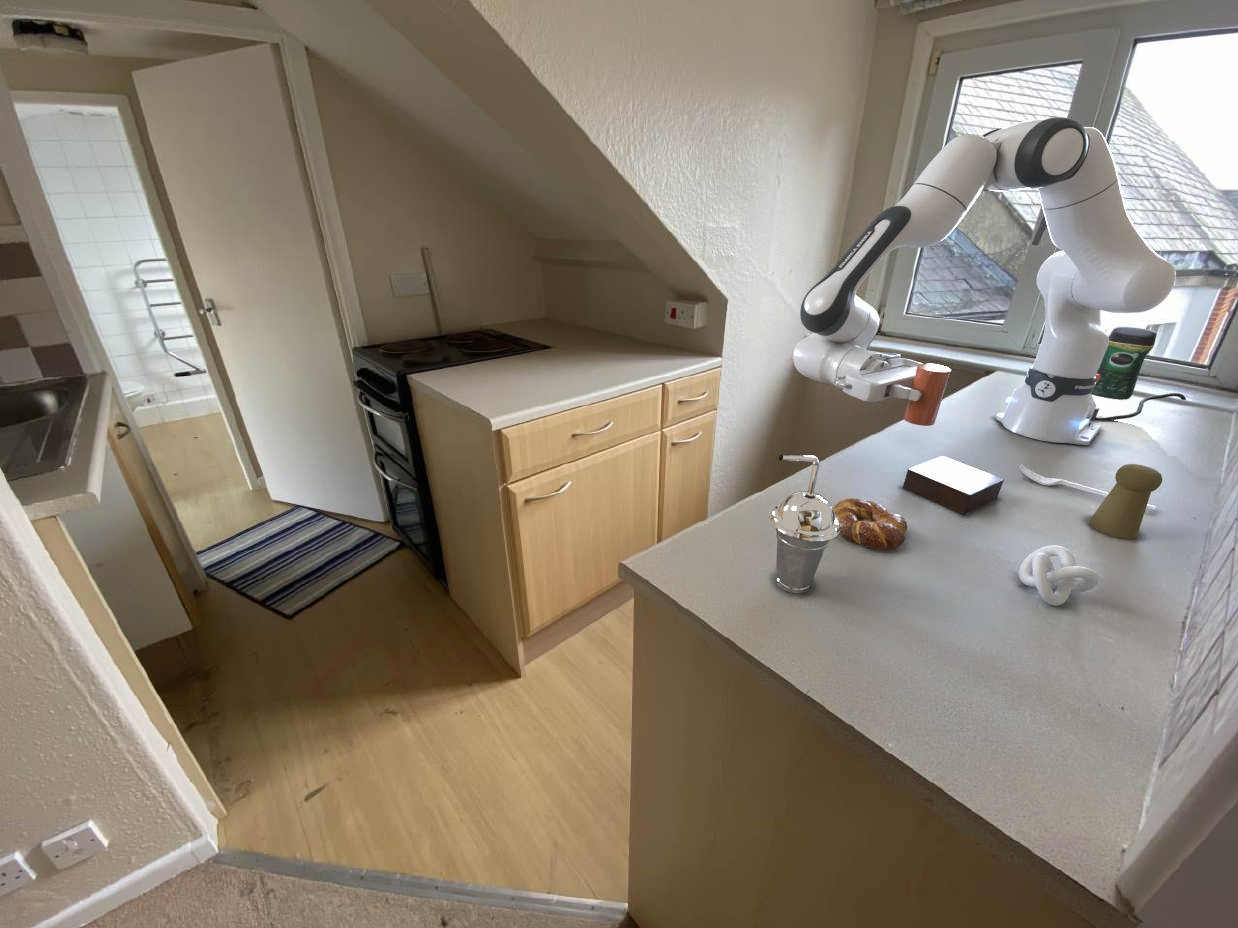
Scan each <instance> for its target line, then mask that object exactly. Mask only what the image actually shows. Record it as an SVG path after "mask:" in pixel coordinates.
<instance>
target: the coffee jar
mask: <svg viewBox="0 0 1238 928" xmlns="http://www.w3.org/2000/svg"><path fill="white" fill-rule="evenodd" d="M1108 337H1109V345H1108V347H1107V350H1106V352H1105V354H1104V357H1103V359H1102V361H1101V363H1100V366H1099V368H1098V370H1097V373H1096V374H1100V377H1099V380H1098V381H1097V382H1096V385H1095V387H1094V390H1093V392H1092V393H1091V395H1092V396H1095V397H1098V398H1099V397H1100V398H1103V399H1110V400H1111V399H1112V400H1120V401H1123V400H1124V401H1127V400H1129V399H1131V398H1132V396H1133V394H1134V391H1135V388H1136V385H1137V382H1138V378H1139V375H1140V372H1141V370H1142V366H1143V364H1144V361H1145V359H1146V357H1147V355H1148V354H1149V353H1150V352H1151V351H1152V350H1153V349H1154V347H1155V344H1156V338H1157V331H1156V330H1153V329H1147V328H1141V327H1133V326H1115V327H1114V328H1113V329H1112V331H1111V332H1110V333H1109V334H1108Z"/></svg>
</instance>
